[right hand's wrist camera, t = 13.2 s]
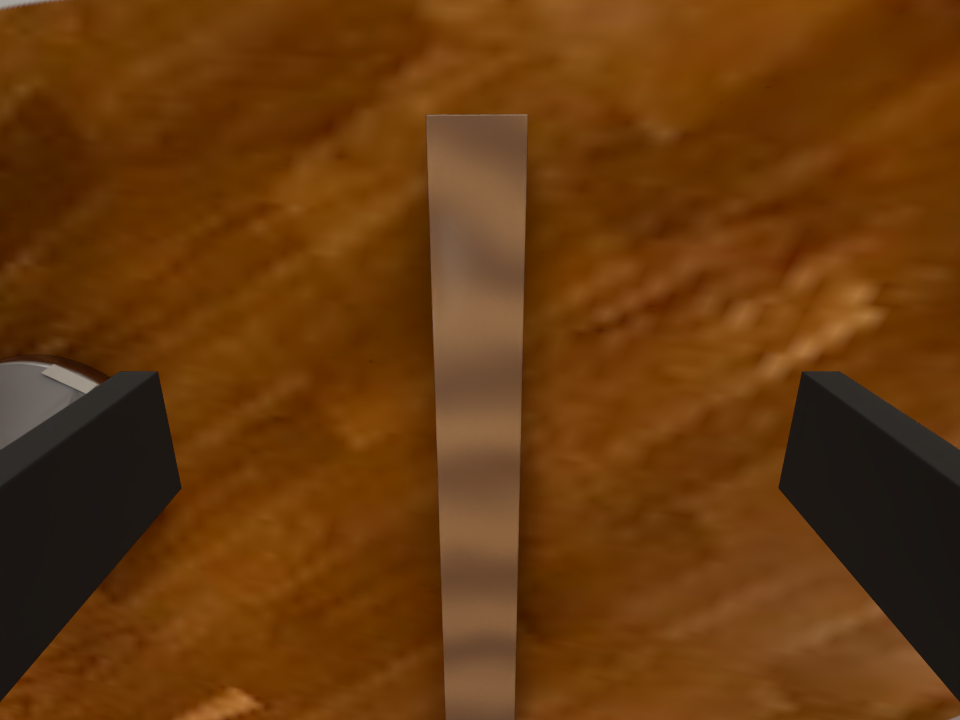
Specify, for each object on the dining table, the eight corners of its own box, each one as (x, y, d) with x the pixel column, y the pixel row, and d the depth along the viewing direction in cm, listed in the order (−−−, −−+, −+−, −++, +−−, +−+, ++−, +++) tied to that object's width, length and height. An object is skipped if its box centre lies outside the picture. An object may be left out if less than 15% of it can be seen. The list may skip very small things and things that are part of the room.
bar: (435, 118, 36) (425, 114, 30) (519, 118, 36) (528, 114, 30) (453, 767, 56) (450, 855, 49) (507, 767, 56) (511, 854, 49)
